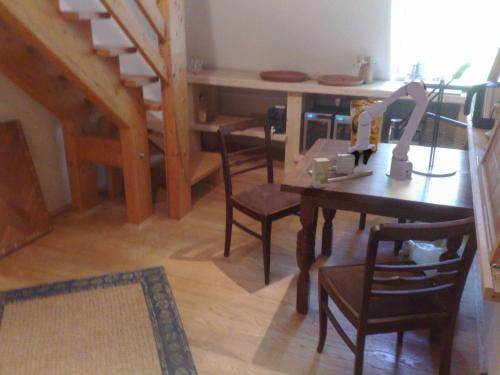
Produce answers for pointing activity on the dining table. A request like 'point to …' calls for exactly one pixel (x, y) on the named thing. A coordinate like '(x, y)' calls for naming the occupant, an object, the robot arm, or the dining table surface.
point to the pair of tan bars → (355, 173)
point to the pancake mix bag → (355, 111)
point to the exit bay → (333, 178)
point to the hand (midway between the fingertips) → (360, 164)
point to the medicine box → (345, 163)
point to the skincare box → (320, 172)
